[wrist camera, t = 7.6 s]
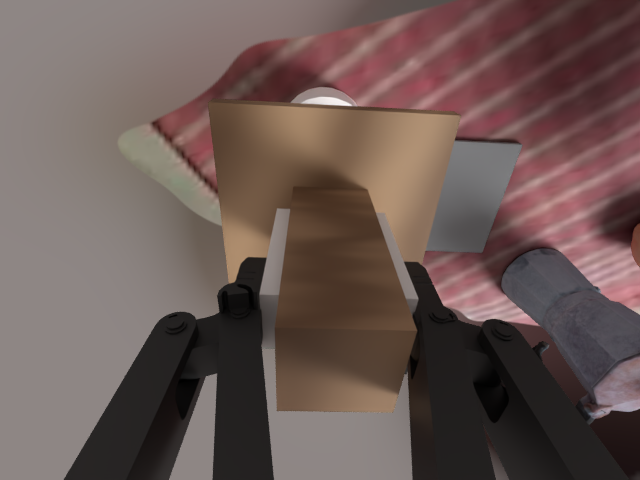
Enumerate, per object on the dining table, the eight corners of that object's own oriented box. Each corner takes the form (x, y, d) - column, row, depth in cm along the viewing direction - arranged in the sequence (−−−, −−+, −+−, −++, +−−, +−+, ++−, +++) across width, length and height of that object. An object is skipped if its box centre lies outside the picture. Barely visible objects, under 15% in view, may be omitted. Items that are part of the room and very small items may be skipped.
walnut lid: (453, 111, 17) (630, 209, 7) (407, 293, 23) (472, 469, 14) (213, 98, 16) (78, 186, 7) (233, 287, 23) (177, 467, 13)
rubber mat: (519, 143, 36) (522, 144, 36) (480, 250, 43) (482, 252, 43) (383, 136, 36) (384, 137, 35) (366, 245, 43) (367, 248, 42)
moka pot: (602, 251, 44) (784, 388, 27) (511, 323, 51) (611, 469, 34) (555, 218, 41) (724, 348, 24) (466, 299, 48) (549, 444, 31)
